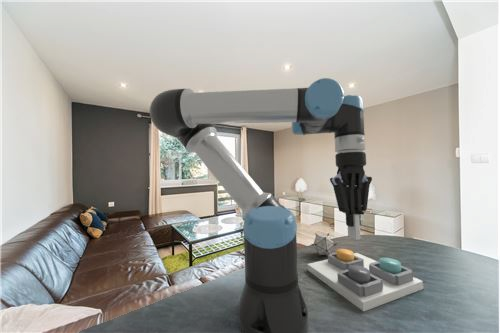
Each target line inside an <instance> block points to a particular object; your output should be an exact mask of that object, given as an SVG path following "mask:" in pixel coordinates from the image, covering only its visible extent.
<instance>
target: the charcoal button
mask: <svg viewBox="0 0 500 333" xmlns="http://www.w3.org/2000/svg"><path fill="white" fill-rule="evenodd" d="M348 277H349V278H350V279H352V280H354V281H355V282H357V283H359V284H360V285H362V284H366V283H369V282H371V281H370V271H369V270H368V269H367V268H365V267H362V266H357V265H351V266H349V267H348Z"/></svg>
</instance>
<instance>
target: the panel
mask: <svg viewBox="0 0 500 333" xmlns="http://www.w3.org/2000/svg"><path fill="white" fill-rule="evenodd" d="M353 253H354V252H353ZM351 265H357V266H362V267H365V268H367V269H368V270H369V271H370V281H371V282H369V283H366V284H362V285H360V284H359V283H357V282H355V281H354V280H352V279H350V278H349V277H348V267H349V266H351ZM307 271H308V272H309V273H311V274H312V275H313V276H315V277H317V279H319V280H320V281H322V283H325V284H326V285H327V286H328V287H330V288H331V289H332V290H334V291H335V292H336V293H338V294H339V295H340V296H342V297H344V299H345V300H347V301H349V302H350V303H351V304H353V305H354V306H355V307H357V308H358V309H360V310H361V312H366V311H368V310H371V309H375V308H377V307H381V306H382V305H384V304H388V303H390V302H392V301H395V300H398V299H401V298H404V297H406V296H408V295H411V294H413V293H416V292H419V291H422V290H424V281H423V280H421V279H419V278H417V277H414V270H413V269H410V268H407V267H405V266H403V265H401V273H398V274H395V275H394V274H392V273H390V272H387V271H385V270H383V269H381V268H380V267H379V260H378V261H377V260H374V259H373V258H371V257H368V256H365V255H363V254H360V253H358V252H355V253H354V261H350V262H344V261H342V260H340V259H338V258H337V254H336V252H332V253H331V254H329V255H327V259H324V260H319V261H315V262H310V263H307Z"/></svg>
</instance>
